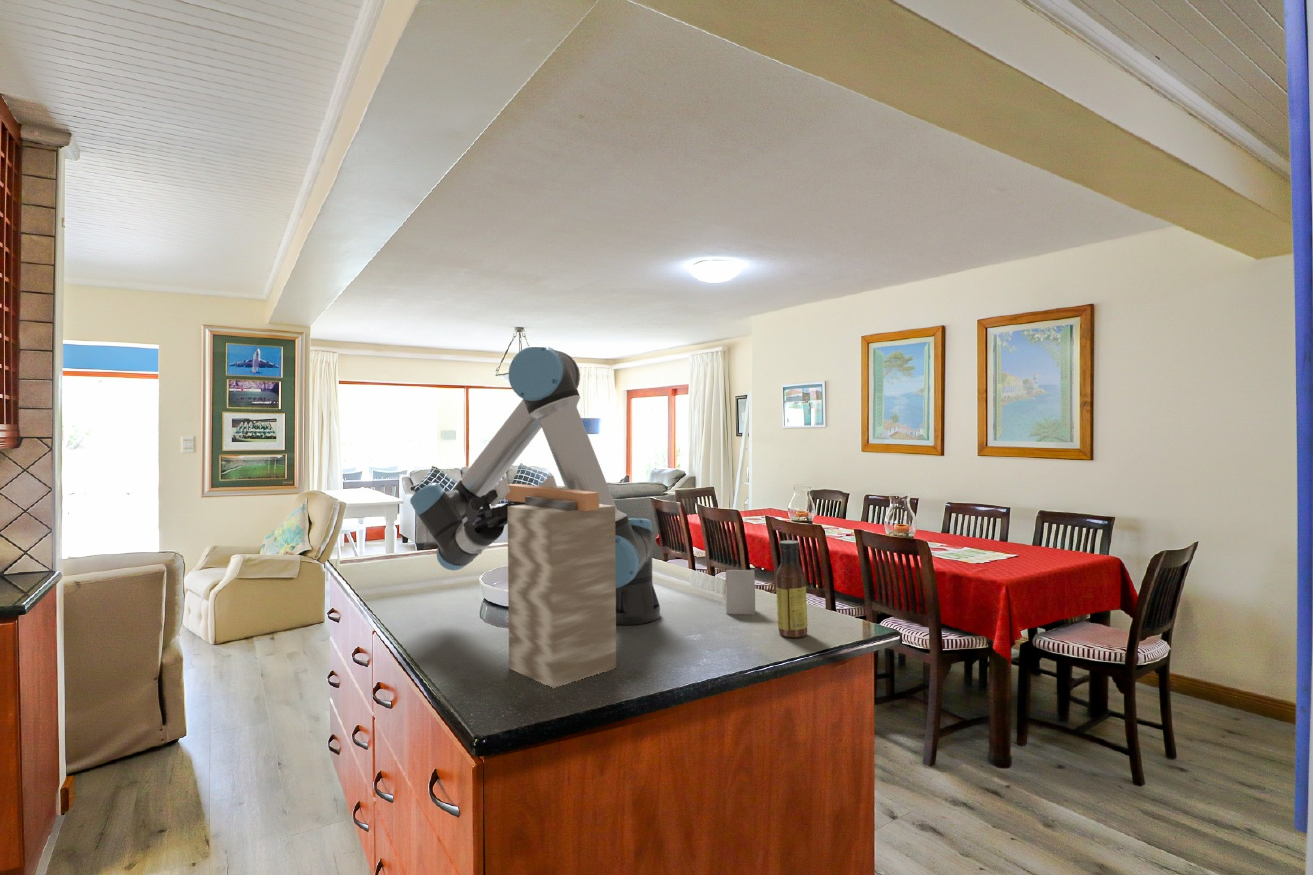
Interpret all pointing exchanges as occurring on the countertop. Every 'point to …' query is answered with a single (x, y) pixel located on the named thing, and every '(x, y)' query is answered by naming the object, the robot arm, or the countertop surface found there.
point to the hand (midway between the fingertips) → (530, 483)
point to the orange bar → (555, 495)
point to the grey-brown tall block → (561, 590)
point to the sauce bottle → (791, 592)
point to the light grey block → (740, 592)
